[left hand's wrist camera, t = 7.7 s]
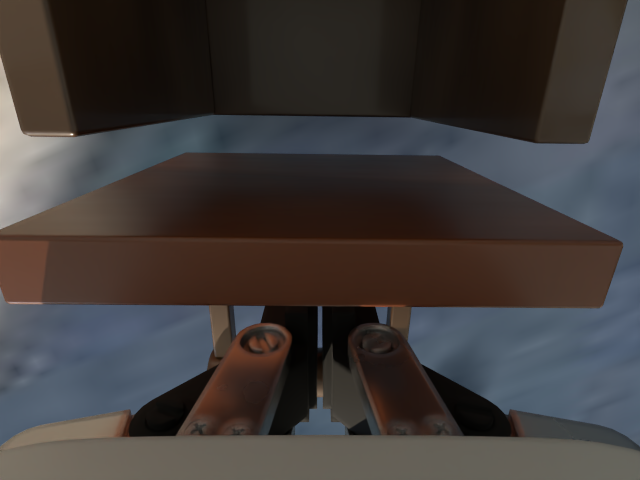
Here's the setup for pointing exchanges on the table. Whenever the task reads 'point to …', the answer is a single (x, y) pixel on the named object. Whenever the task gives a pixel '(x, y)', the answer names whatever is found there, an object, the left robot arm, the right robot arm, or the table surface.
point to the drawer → (308, 169)
